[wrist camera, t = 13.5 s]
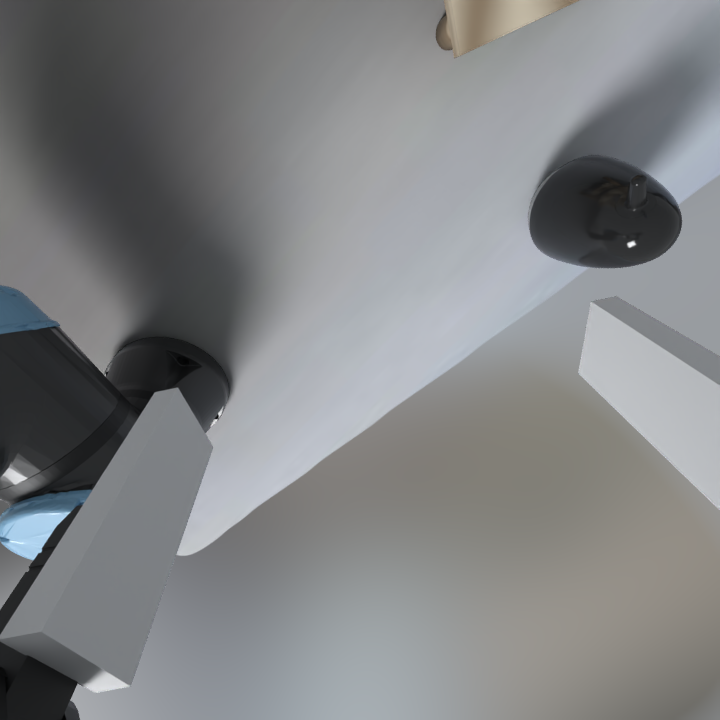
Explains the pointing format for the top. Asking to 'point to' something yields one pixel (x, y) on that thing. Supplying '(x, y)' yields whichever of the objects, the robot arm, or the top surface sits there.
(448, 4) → the footstool
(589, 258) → the pump dispenser
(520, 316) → the top surface
